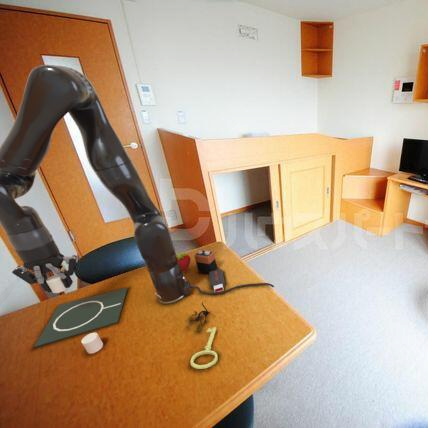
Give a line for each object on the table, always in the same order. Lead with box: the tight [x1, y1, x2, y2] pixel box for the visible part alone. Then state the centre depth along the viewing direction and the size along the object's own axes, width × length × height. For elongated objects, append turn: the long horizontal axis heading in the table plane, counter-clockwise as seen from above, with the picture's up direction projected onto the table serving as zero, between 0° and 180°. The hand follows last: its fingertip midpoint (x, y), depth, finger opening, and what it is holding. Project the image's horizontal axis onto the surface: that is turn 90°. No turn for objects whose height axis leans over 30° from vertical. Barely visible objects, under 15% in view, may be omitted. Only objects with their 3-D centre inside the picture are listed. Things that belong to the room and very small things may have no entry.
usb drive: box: [208, 268, 226, 293], centre depth 97 cm, size 5×12×3 cm, turn 27°
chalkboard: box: [33, 287, 129, 349], centre depth 82 cm, size 20×18×1 cm
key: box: [189, 326, 219, 370], centre depth 71 cm, size 7×12×2 cm, turn 23°
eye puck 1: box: [46, 274, 68, 294], centre depth 75 cm, size 4×4×4 cm
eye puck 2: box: [80, 332, 104, 355], centre depth 70 cm, size 4×4×4 cm
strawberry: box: [176, 251, 191, 272], centre depth 102 cm, size 6×8×10 cm
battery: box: [194, 249, 218, 275], centre depth 102 cm, size 4×7×10 cm, turn 78°
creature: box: [185, 301, 210, 333], centre depth 79 cm, size 8×5×8 cm
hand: (60, 288), depth 75 cm, fingers closed on eye puck 1, 3 cm apart
